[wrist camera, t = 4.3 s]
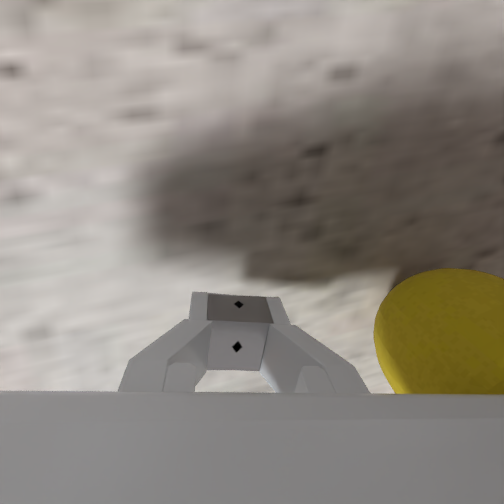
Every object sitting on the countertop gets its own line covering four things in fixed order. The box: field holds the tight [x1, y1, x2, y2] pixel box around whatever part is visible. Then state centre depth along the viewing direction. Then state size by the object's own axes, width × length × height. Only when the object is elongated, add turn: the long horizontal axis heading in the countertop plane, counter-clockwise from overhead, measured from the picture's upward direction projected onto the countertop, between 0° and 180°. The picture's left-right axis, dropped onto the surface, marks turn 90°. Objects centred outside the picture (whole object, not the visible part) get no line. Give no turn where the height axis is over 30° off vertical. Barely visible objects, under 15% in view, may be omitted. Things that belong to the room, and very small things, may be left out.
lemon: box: [374, 268, 504, 395], centre depth 10 cm, size 6×6×8 cm
